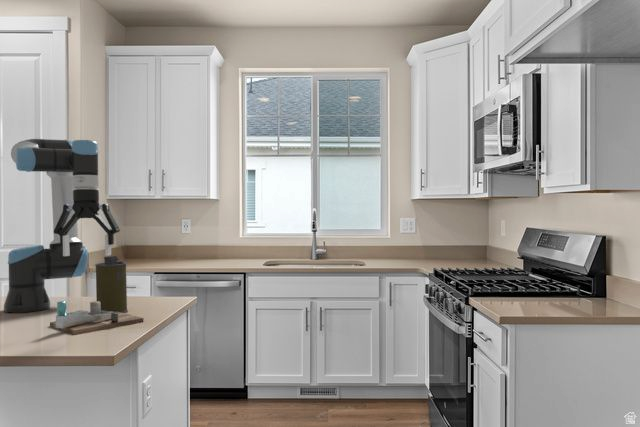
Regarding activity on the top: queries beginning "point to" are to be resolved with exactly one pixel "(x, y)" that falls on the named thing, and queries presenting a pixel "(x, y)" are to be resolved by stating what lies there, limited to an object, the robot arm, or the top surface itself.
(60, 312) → the square loop handle
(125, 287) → the canister
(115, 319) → the dowel
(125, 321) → the board
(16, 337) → the top surface
